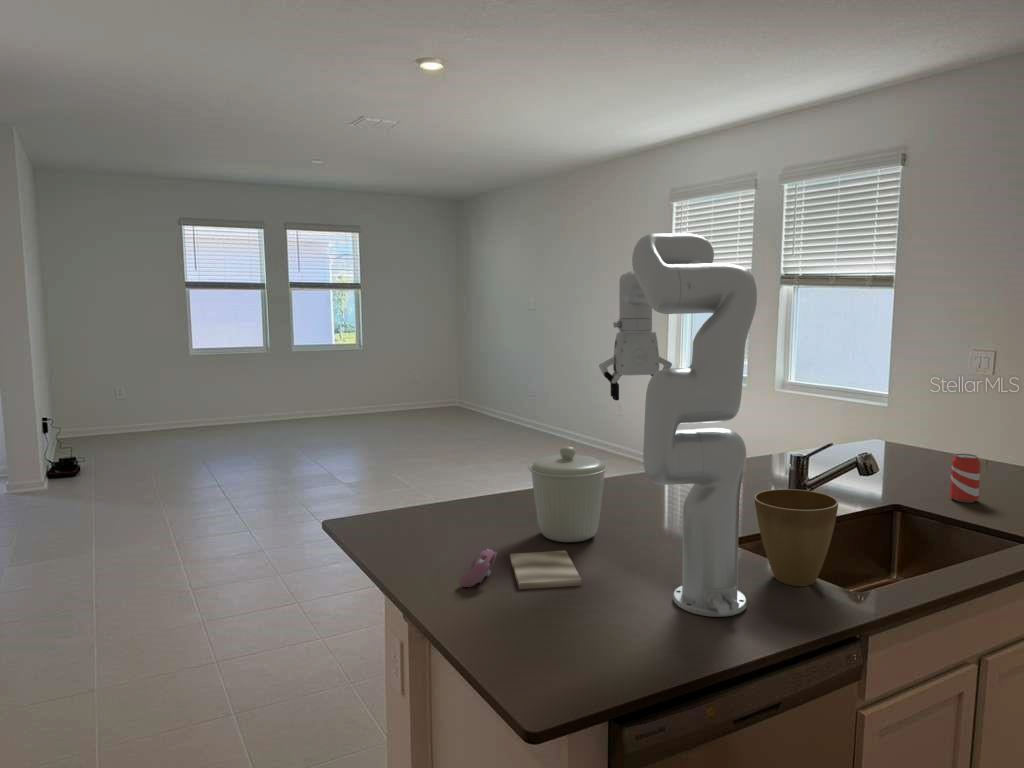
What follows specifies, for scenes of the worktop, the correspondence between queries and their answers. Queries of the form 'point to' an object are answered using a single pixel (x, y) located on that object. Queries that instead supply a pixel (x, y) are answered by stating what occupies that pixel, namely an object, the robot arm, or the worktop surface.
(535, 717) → the worktop surface
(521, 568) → the birch board
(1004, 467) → the worktop surface
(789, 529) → the plant pot
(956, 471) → the beverage can
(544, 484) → the canister
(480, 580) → the video game controller
